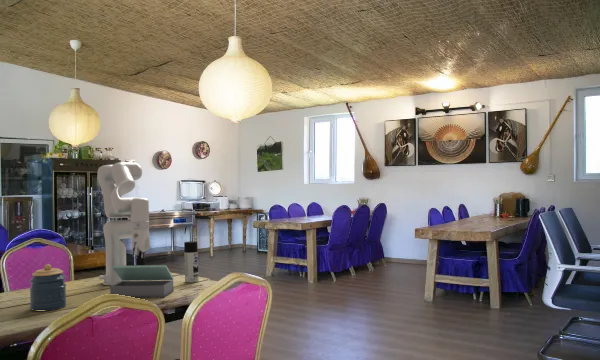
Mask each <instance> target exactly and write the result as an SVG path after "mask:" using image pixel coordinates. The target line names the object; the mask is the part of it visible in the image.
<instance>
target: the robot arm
mask: <svg viewBox="0 0 600 360" xmlns="http://www.w3.org/2000/svg"><path fill="white" fill-rule="evenodd" d="M142 175H143V169H142V167H141V165H140V164H139V163H138V162H125V161H123V162H121V161H120V162H115V163H113V164H105V165H101V166H100V167H98V169H97V181H98V184H99V186H100V189H101V192H102V197H103V207H104V213H105V216H106V217H107V218H108V219H114V220H109V221H107V222H105V223H104V225H103V230H102V231H103V235H104V243H105V274H104V275H103V274H102V275H101V274H100V275H99V276H98V279H99V280H103V281H102V284H103V285H104V286H112V285H114V284H117V283H119V282H121V281H122V280H121V279H120V277H119V276H118V275H117V273H116V272H115V271H114V269H113V268H112V267H113V266H127V248H126V247H127V246H126V245H125V244H124V242H123V241H122V240H123V239H124V240H125V239H131V251H132V252H133V253H134V256H135V258H136V266H137V265H146V253H147V251H149V250H150V249H151V237H150V212H149V211H150V209H149V208H150V205H149V202H150V201H149V199H148V197H147V198H146V197H138V196H135V197H131V196H130V197H122V196H124V195H126V194H129V193H130V192H132V191H134V189H135V187H136V182H135V181H138V180H140V179H141V178H142ZM123 218H124V219H123ZM126 218H127V219H126ZM115 219H116V220H115Z"/></svg>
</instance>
